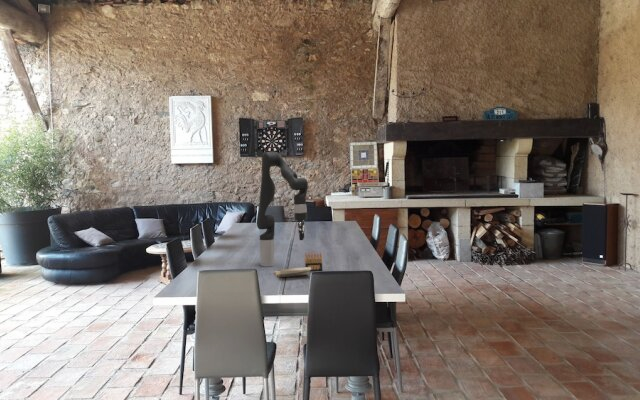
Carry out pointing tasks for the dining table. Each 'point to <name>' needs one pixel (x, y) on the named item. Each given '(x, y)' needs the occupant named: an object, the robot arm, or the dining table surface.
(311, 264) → the ammunition clip
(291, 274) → the birch plank
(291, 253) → the dining table surface
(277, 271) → the oak board
